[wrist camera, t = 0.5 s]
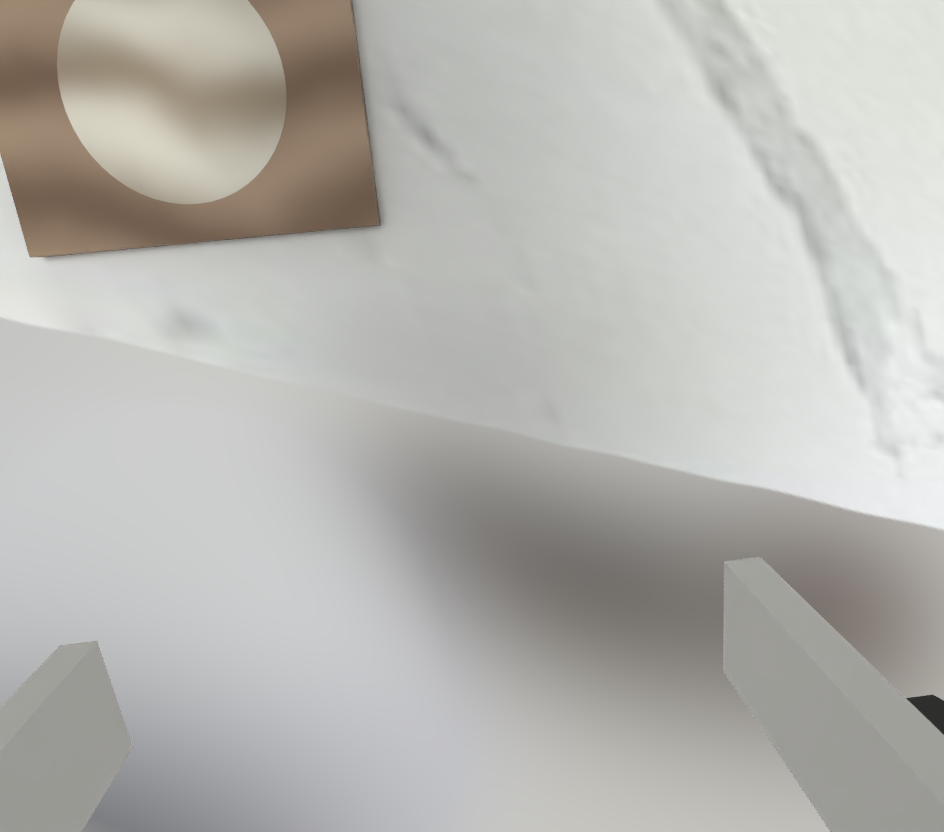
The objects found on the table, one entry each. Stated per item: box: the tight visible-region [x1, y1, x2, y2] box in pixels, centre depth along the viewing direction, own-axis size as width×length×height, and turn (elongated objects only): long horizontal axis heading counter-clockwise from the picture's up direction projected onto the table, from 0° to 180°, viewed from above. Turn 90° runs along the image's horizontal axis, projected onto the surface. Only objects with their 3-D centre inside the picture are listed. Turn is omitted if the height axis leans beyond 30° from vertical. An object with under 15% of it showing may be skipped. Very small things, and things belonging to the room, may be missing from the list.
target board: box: [0, 0, 380, 257], centre depth 33 cm, size 16×20×1 cm
